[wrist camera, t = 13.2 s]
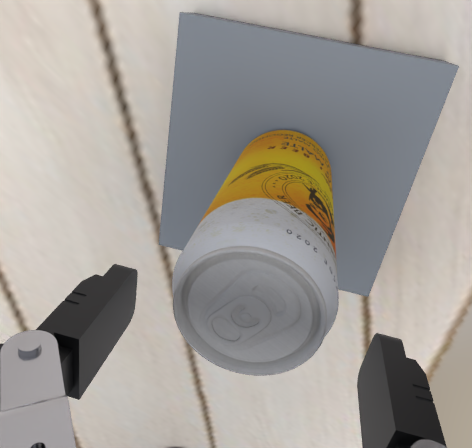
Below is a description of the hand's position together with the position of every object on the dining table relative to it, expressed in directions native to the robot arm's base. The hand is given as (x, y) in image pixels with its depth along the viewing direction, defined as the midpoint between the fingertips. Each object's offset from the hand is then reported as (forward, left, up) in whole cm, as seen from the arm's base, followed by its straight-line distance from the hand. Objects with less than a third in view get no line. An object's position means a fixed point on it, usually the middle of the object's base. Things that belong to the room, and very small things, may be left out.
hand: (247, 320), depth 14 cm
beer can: (0, 0, -16) cm, 16 cm away
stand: (0, 0, -18) cm, 18 cm away
